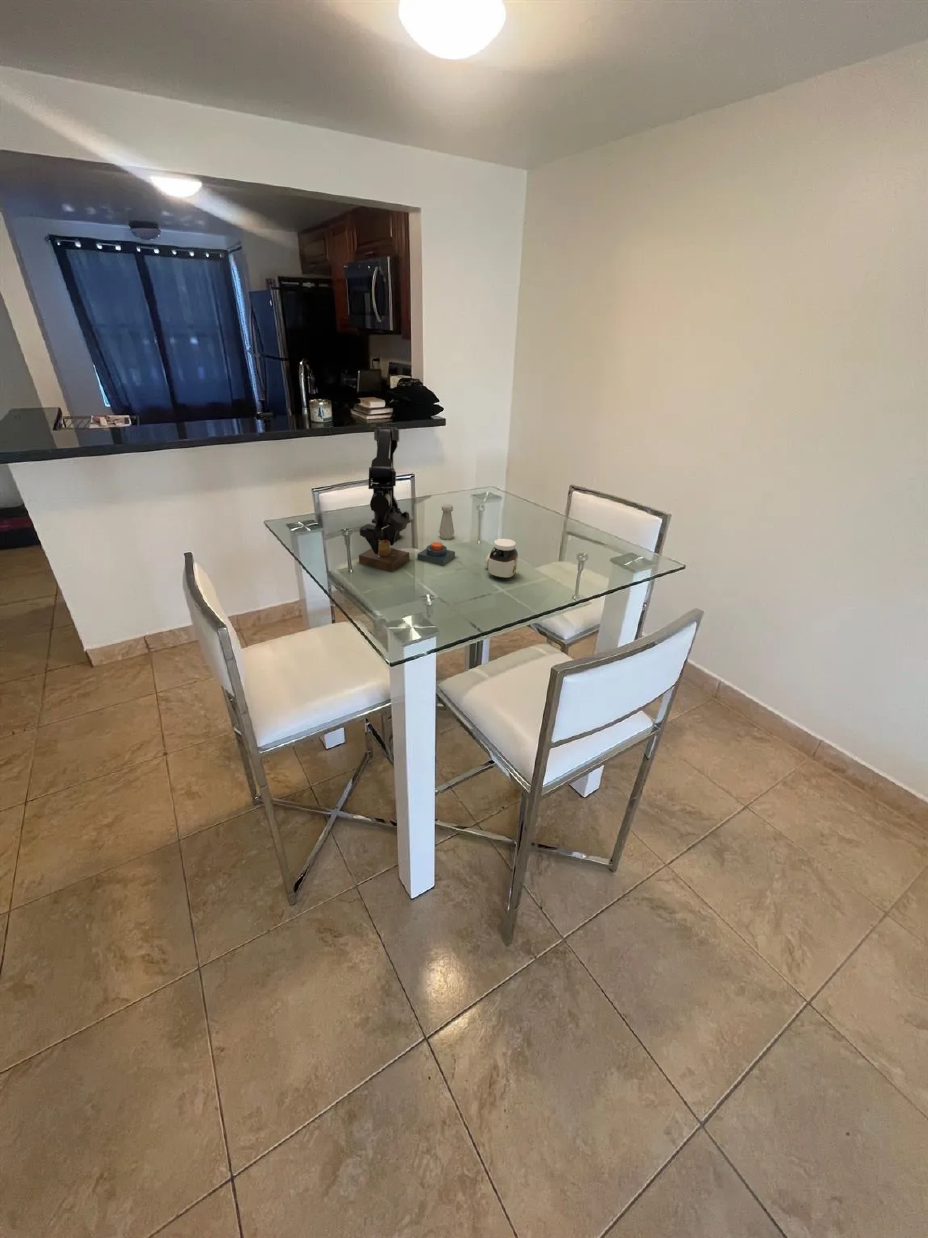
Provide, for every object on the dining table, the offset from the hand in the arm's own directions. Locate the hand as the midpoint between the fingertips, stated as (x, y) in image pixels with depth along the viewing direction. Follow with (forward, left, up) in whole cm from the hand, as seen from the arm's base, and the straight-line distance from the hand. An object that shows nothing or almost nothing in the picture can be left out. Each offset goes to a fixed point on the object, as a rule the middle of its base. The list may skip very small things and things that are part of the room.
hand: (384, 549), depth 171 cm
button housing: (+13, +12, -5) cm, 19 cm away
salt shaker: (+7, +32, -5) cm, 33 cm away
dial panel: (0, 0, -5) cm, 5 cm away
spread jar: (+37, +12, -5) cm, 39 cm away
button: (+13, +12, -1) cm, 18 cm away
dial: (0, 0, -2) cm, 2 cm away
